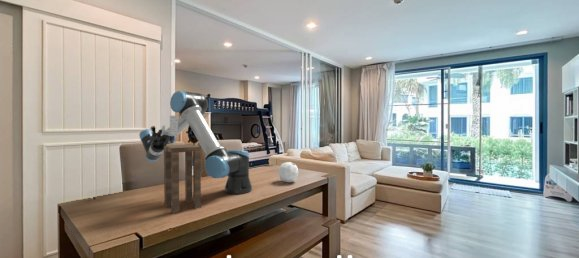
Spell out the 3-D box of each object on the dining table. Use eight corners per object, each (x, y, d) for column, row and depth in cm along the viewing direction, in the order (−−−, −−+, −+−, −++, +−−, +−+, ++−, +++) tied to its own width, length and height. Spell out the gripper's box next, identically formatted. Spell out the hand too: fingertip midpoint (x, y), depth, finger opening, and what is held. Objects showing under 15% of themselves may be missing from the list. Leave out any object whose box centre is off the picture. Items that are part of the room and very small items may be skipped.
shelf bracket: (160, 134, 136) (160, 115, 136) (166, 133, 138) (165, 115, 138) (171, 136, 121) (171, 115, 121) (177, 135, 123) (177, 115, 123)
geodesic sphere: (306, 172, 167) (294, 155, 169) (301, 176, 154) (288, 158, 156) (289, 183, 170) (278, 167, 172) (283, 188, 157) (271, 170, 159)
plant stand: (164, 205, 116) (163, 145, 115) (190, 200, 124) (190, 144, 123) (173, 213, 106) (172, 148, 105) (200, 207, 114) (200, 146, 113)
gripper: (173, 151, 150) (185, 133, 134) (142, 153, 139) (151, 134, 124) (171, 140, 152) (182, 121, 137) (141, 141, 142) (149, 121, 126)
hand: (168, 127), depth 130 cm, fingers closed on shelf bracket, 3 cm apart
